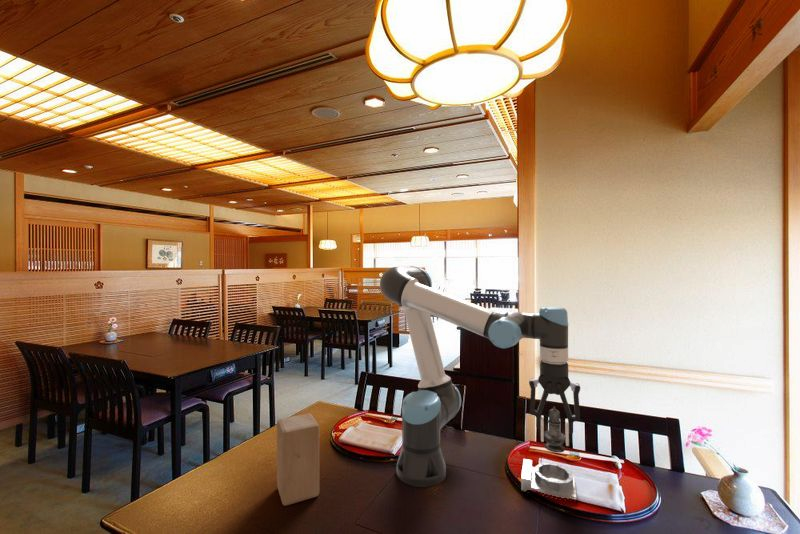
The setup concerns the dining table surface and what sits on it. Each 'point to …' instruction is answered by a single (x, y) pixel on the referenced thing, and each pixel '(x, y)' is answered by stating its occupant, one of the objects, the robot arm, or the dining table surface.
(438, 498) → the dining table surface
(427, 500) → the dining table surface
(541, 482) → the mount
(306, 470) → the wooden block
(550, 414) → the grey tall piece
